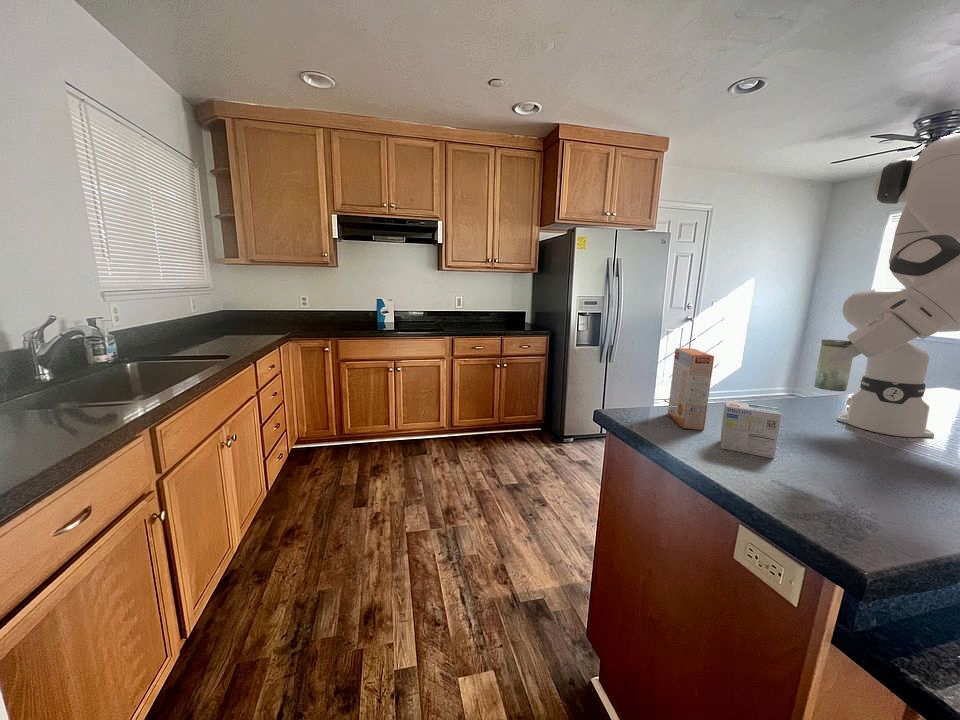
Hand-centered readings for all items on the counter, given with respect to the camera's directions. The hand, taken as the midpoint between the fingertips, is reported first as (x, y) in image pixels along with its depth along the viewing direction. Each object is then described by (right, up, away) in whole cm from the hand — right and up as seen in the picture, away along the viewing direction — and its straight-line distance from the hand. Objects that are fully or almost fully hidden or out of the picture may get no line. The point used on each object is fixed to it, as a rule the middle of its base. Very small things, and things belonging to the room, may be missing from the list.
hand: (830, 360), depth 77 cm
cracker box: (-13, -18, +31) cm, 38 cm away
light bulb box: (-9, -22, +12) cm, 26 cm away
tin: (0, -6, +1) cm, 6 cm away
